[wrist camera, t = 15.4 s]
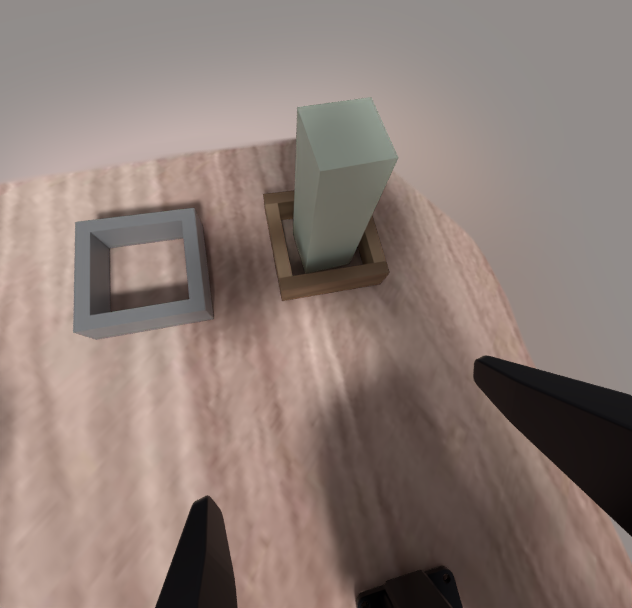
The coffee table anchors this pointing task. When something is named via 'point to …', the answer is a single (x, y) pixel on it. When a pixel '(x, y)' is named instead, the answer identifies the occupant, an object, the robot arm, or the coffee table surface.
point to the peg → (337, 179)
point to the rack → (323, 281)
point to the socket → (95, 273)
